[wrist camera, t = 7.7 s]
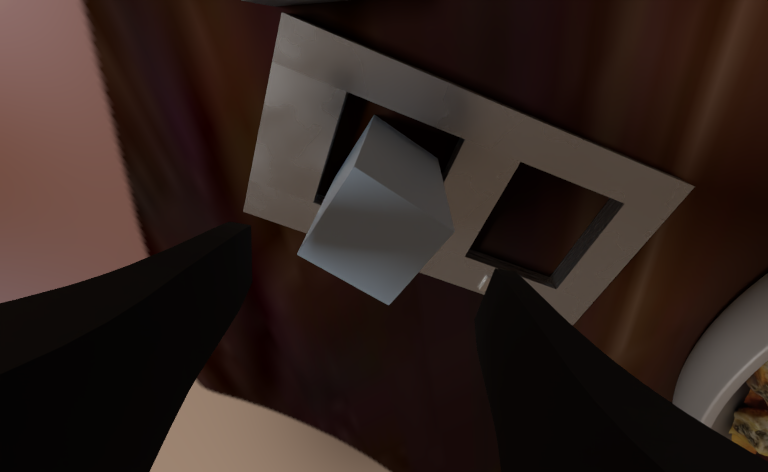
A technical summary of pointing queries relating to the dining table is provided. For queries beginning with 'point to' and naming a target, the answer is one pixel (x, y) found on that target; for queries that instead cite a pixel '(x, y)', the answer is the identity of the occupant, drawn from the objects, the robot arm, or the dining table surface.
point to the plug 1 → (289, 2)
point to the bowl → (732, 373)
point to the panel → (464, 169)
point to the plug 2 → (381, 214)
